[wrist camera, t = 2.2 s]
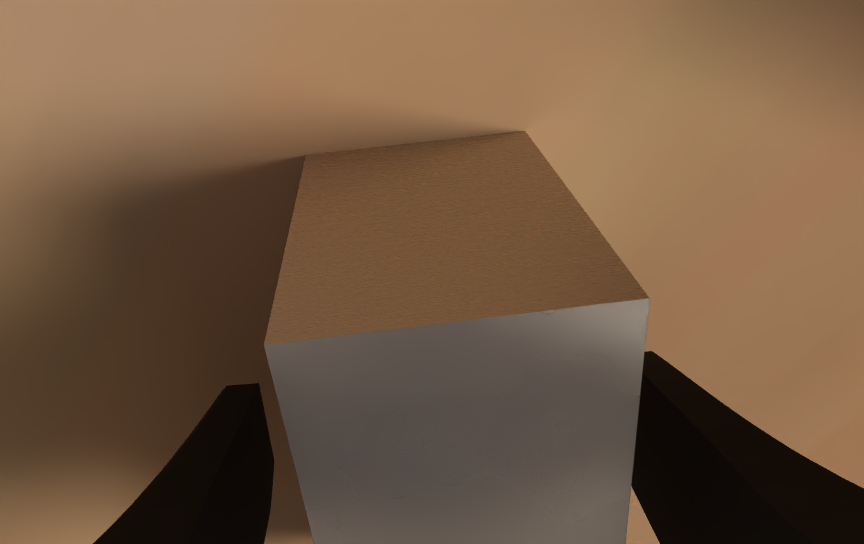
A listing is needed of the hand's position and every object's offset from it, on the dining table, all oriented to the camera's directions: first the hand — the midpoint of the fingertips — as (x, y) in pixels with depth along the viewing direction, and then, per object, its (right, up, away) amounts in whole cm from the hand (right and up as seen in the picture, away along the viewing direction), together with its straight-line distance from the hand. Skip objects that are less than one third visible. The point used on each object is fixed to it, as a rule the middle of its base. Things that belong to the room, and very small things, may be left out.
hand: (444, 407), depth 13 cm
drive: (0, +1, +1) cm, 2 cm away
